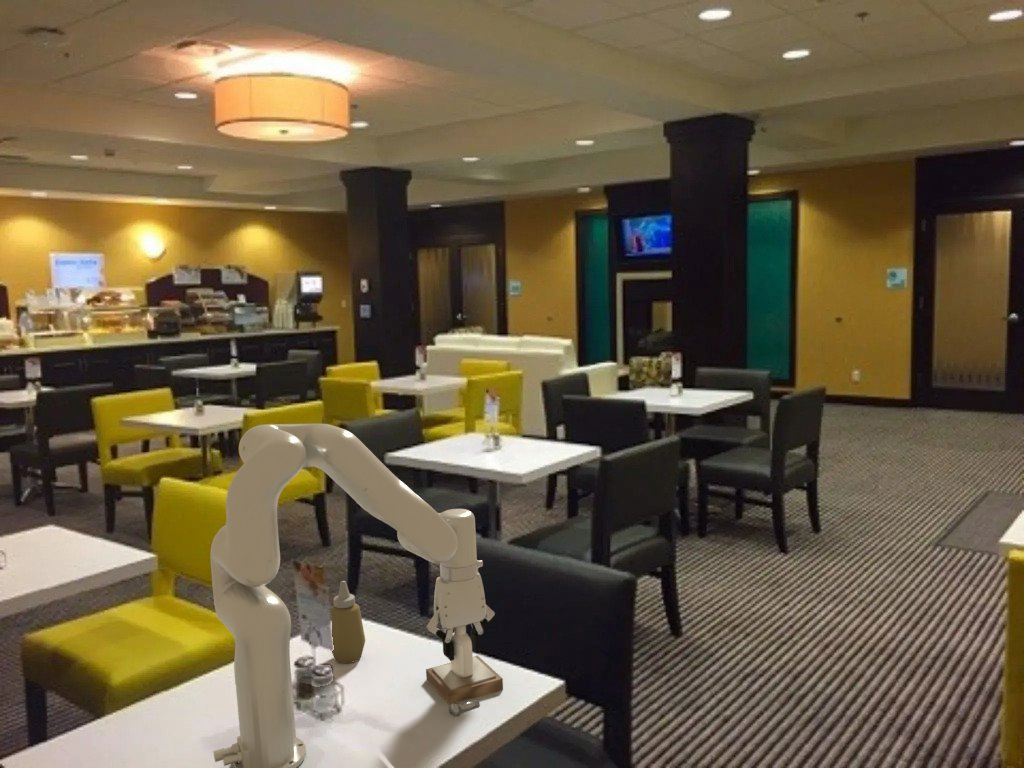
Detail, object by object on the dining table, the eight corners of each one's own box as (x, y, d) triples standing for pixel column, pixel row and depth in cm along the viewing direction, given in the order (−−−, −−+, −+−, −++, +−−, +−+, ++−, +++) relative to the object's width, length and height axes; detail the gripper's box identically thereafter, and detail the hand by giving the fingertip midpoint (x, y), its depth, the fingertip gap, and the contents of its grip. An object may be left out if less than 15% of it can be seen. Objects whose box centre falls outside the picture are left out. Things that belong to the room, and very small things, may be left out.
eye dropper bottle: (452, 679, 175) (449, 623, 173) (450, 666, 181) (448, 612, 179) (473, 677, 176) (471, 622, 174) (471, 664, 181) (469, 610, 179)
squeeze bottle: (328, 653, 197) (322, 578, 194) (363, 647, 199) (358, 573, 196) (331, 669, 189) (326, 590, 186) (368, 662, 191) (363, 585, 189)
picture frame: (449, 707, 171) (448, 691, 170) (426, 682, 181) (425, 667, 181) (503, 692, 176) (502, 676, 176) (478, 668, 187) (477, 653, 186)
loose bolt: (450, 718, 168) (456, 717, 166) (447, 704, 168) (453, 703, 166) (477, 710, 171) (483, 710, 169) (474, 696, 172) (480, 696, 169)
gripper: (488, 557, 182) (491, 638, 185) (412, 573, 175) (417, 657, 177) (504, 567, 176) (507, 651, 178) (426, 584, 168) (431, 672, 171)
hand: (462, 653), depth 178 cm, fingers open, 5 cm apart
